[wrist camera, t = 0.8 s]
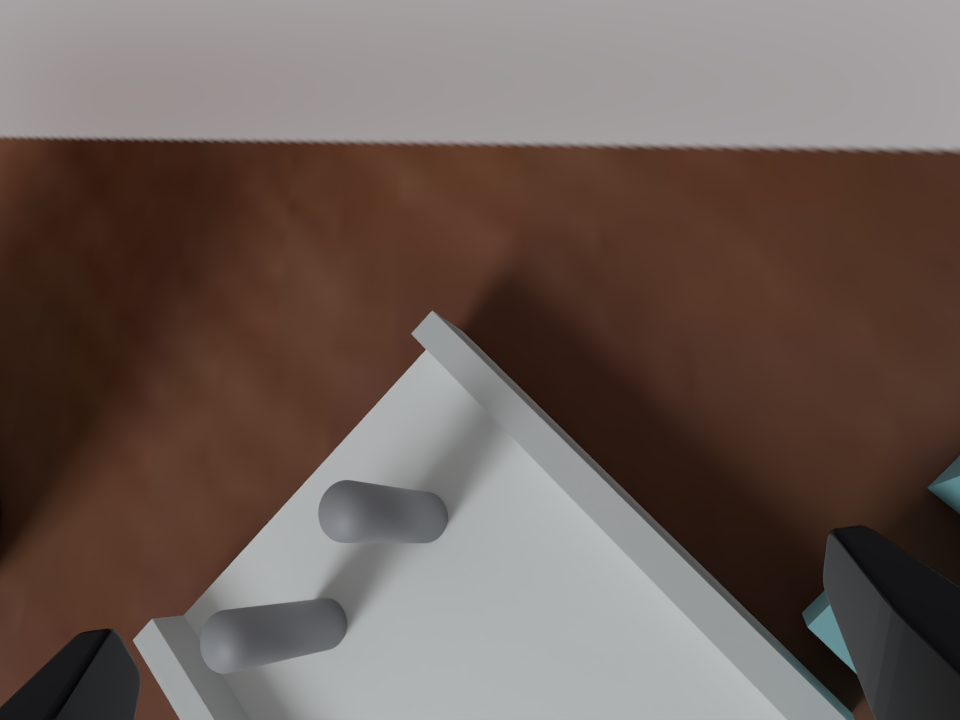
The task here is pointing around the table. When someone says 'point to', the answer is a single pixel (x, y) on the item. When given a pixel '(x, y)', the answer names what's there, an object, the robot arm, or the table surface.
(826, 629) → the teal notched block
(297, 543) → the board
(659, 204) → the table surface
